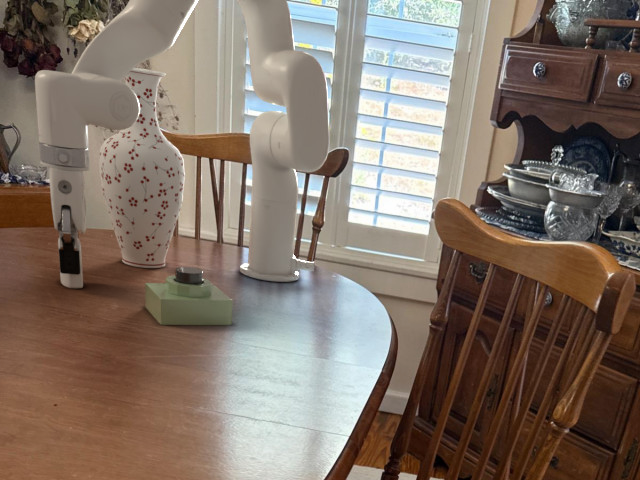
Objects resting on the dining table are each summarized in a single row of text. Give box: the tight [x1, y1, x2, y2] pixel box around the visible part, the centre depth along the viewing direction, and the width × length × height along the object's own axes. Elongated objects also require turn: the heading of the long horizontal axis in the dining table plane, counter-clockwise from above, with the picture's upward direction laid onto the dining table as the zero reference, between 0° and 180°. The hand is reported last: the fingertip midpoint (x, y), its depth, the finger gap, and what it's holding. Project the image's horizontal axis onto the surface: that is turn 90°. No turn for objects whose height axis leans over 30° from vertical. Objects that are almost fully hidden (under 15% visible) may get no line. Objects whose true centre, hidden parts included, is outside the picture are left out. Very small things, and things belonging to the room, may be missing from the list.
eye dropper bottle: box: [57, 227, 84, 289], centre depth 135 cm, size 4×6×12 cm
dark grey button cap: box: [174, 266, 204, 285], centre depth 129 cm, size 4×4×2 cm
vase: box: [98, 67, 186, 269], centre depth 151 cm, size 16×16×35 cm
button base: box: [144, 274, 234, 326], centre depth 131 cm, size 12×10×6 cm
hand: (71, 268), depth 137 cm, fingers closed on eye dropper bottle, 5 cm apart
